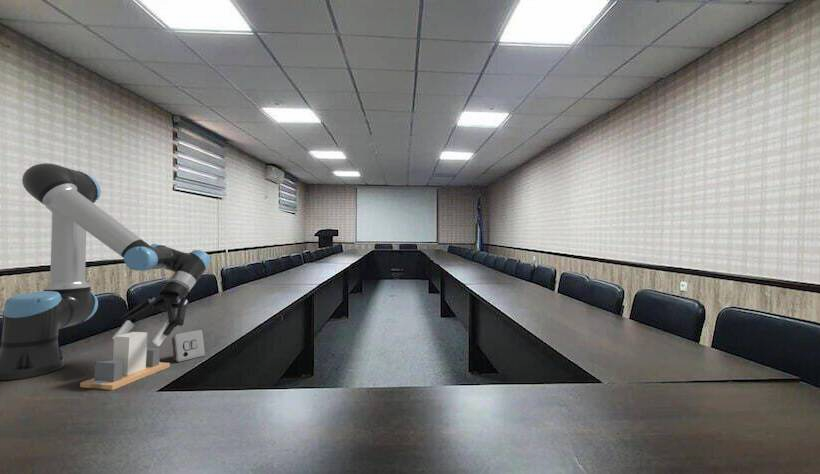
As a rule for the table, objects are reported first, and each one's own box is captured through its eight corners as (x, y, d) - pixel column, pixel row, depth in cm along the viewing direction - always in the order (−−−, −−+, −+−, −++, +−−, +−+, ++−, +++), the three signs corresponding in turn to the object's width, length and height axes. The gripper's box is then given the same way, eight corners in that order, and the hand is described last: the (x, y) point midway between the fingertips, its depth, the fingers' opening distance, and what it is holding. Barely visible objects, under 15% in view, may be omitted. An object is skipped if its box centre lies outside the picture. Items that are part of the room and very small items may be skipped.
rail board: (80, 387, 94) (81, 363, 94) (142, 364, 113) (143, 345, 113) (112, 389, 93) (113, 366, 93) (169, 366, 112) (170, 347, 112)
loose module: (112, 374, 100) (114, 336, 101) (131, 367, 106) (133, 331, 107) (127, 375, 100) (129, 337, 100) (145, 368, 106) (147, 332, 106)
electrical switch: (177, 363, 116) (177, 334, 117) (169, 361, 118) (169, 334, 119) (205, 356, 124) (205, 329, 125) (196, 355, 126) (196, 329, 127)
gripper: (215, 295, 120) (179, 351, 105) (152, 292, 124) (107, 346, 108) (205, 282, 115) (165, 338, 100) (139, 278, 119) (91, 333, 103)
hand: (135, 342), depth 104 cm, fingers open, 13 cm apart
